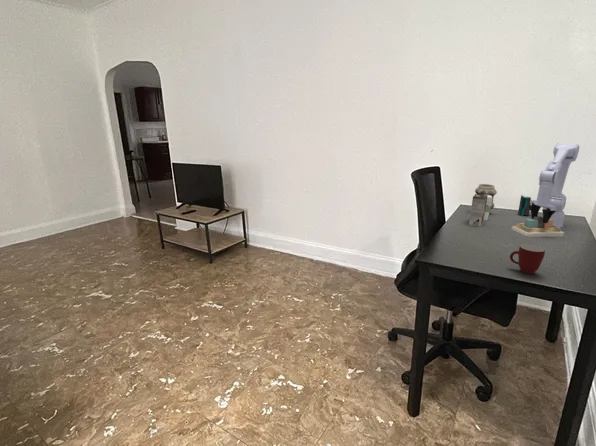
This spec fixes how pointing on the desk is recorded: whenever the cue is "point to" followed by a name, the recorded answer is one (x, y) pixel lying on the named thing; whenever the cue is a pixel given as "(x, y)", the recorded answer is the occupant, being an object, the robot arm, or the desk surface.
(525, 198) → the surveillance camera
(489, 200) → the syrup box
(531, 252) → the mug
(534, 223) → the light teal cube
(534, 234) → the dock
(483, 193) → the stone pedestal urn
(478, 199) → the coffee box
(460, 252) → the desk surface
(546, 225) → the block
